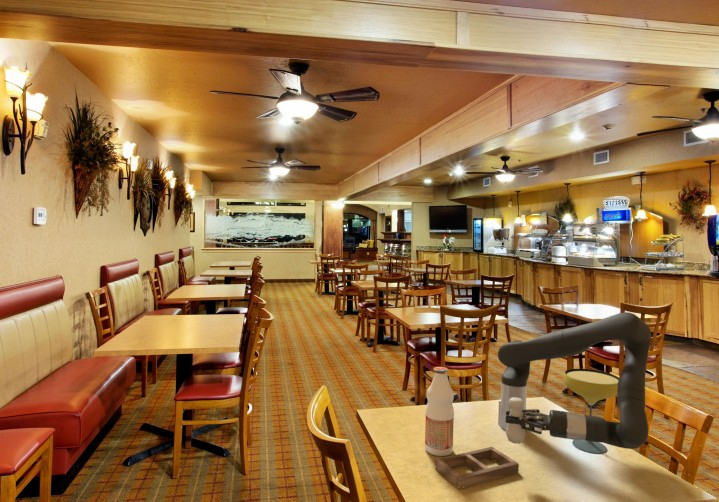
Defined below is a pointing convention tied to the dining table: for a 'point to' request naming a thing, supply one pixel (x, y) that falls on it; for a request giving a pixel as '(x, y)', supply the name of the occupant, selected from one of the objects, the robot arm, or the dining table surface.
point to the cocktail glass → (591, 396)
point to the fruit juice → (439, 415)
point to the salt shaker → (514, 430)
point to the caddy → (477, 467)
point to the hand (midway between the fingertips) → (506, 416)
